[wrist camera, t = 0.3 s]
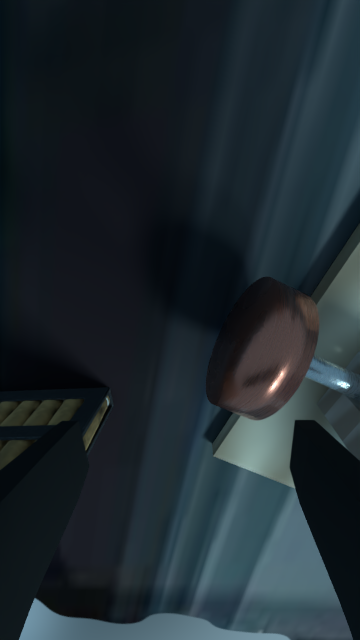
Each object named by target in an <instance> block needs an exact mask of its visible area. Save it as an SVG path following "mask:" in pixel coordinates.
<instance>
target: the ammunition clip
mask: <svg viewBox="0 0 360 640" xmlns="http://www.w3.org/2000/svg"><path fill="white" fill-rule="evenodd" d="M113 406H114V405H113V400H112V396H111V391H110V388H109V387H104V388H79V389H54V390H29V391H4V392H0V470H1V469H2V468H3V467H5V466H6V465H7V464H8V463H10V462H11V461H12V460H13V459H15V458H16V457H17V456H18V455H20V454H21V453H22V452H23V451H25V450H26V449H27V448H28V447H29V446H31V445H32V444H33V443H34V442H36V441H37V440H38V439H39V438H40V437H42V436H43V435H44V434H45V433H47V432H48V431H49V430H50V429H52V428H53V427H54V426H55V425H57V424H58V423H59V422H61V421H79V425H80V429H81V433H82V437H83V441H84V445H85V449H86V453H87V456H88V455H89V453H90V451H91V449H92V447H93V445H94V443H95V441H96V439H97V437H98V435H99V433H100V431H101V430H102V428H103V426H104V424H105V422H106V420H107V418H108V416H109V414H110V412H111V410H112V408H113Z"/></svg>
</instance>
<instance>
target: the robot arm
mask: <svg viewBox="0 0 360 640" xmlns="http://www.w3.org/2000/svg"><path fill="white" fill-rule="evenodd" d="M88 468H89V462H88V458H87V453H86V449H85V445H84V441H83V437H82V433H81V429H80V425H79V421H61V422H59V423H58V424H57V425H55V426H54V427H53V428H52V429H50V430H49V431H48V432H47V433H45V434H44V435H43V436H42V437H40V438H39V439H38V440H37V441H36V442H34V443H33V444H32V445H31V446H29V447H28V448H27V449H26V450H25V451H23V452H22V453H21V454H20V455H18V456H17V457H16V458H15V459H13V460H12V461H11V462H10V463H8V464H7V465H6V466H5V467H3V468H2V469H1V470H0V640H19V637H20V635H21V632H22V629H23V627H24V624H25V621H26V618H27V616H28V613H29V610H30V608H31V605H32V603H33V600H34V598H35V596H36V593H37V591H38V589H39V586H40V584H41V582H42V580H43V577H44V575H45V573H46V571H47V568H48V566H49V564H50V562H51V560H52V557H53V555H54V553H55V551H56V548H57V546H58V544H59V542H60V540H61V537H62V535H63V533H64V531H65V529H66V526H67V524H68V522H69V519H70V517H71V515H72V513H73V510H74V508H75V506H76V504H77V501H78V499H79V496H80V493H81V490H82V487H83V484H84V481H85V478H86V475H87V472H88ZM289 468H290V471H291V475H292V478H293V482H294V486H295V489H296V492H297V496H298V499H299V502H300V505H301V507H302V510H303V513H304V515H305V518H306V520H307V523H308V525H309V528H310V530H311V533H312V535H313V537H314V540H315V542H316V545H317V547H318V550H319V552H320V555H321V557H322V560H323V562H324V564H325V567H326V569H327V572H328V574H329V577H330V579H331V582H332V584H333V587H334V589H335V592H336V594H337V596H338V599H339V601H340V604H341V607H342V609H343V612H344V615H345V617H346V620H347V623H348V625H349V628H350V631H351V634H352V637H353V640H360V460H358V459H357V458H356V457H355V456H354V455H353V454H352V453H351V452H350V451H348V450H347V449H346V448H345V447H344V446H343V445H342V444H341V443H340V442H339V441H337V440H336V439H335V438H334V437H333V436H332V435H331V434H330V433H329V432H328V431H326V430H325V429H324V428H323V427H322V426H321V425H320V424H319V423H318V422H316V421H315V420H295V423H294V432H293V440H292V449H291V458H290V467H289Z"/></svg>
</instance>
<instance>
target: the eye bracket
mask: <svg viewBox="0 0 360 640" xmlns="http://www.w3.org/2000/svg"><path fill="white" fill-rule="evenodd" d="M311 298H312V300H313V301H314V302H315V304H316V307H317V310H318V314H319V335H318V341H317V346H316V349H315V353H314V354H315V355H317V356H319V357H321V358H323V359H326V360H328V361H330V362H332V363H334V364H337V365H339V366H341V367H343V368H345V369H348V370H350V371H352V372H354V373H356V374H359V375H360V223H359V225H358V226H357V228H356V229H355V231H354V232H353V234H352V235H351V237H350V238H349V240H348V241H347V243H346V244H345V246H344V247H343V249H342V250H341V252H340V253H339V255H338V256H337V258H336V259H335V261H334V262H333V264H332V265H331V267H330V268H329V270H328V271H327V273H326V274H325V276H324V277H323V279H322V280H321V282H320V283H319V285H318V286H317V288H316V289H315V291H314V292H313V294H312V295H311ZM295 420H315V421H316V422H318V423H319V424H320V425H321V426H322V427H323V428H324V429H325V430H326V431H328V432H329V433H330V434H331V435H332V436H333V437H334V438H335V439H336V440H337V441H339V442H340V443H341V444H342V445H343V446H344V447H345V448H346V449H347V450H348V451H350V452H351V453H352V454H353V455H354V456H355V457H356V458H357V459H358V460H360V401H358V400H356V399H354V398H352V397H349V396H347V395H345V394H343V393H340V392H338V391H336V390H334V389H331V388H329V387H327V386H325V385H322V384H320V383H318V382H316V381H313V380H311V379H309V378H307V377H304V379H303V381H302V383H301V384H300V386H299V388H298V389H297V390H296V392H295V393H294V395H293V396H292V397H291V398H290V400H289V401H288V402H287V403H286V404H285V405H284V406H283V407H282V408H281V409H280V410H279V411H277V412H276V413H275V414H273V415H272V416H270V417H268V418H266V419H263V420H257V421H255V420H250V419H248V418H245V417H243V416H240V415H238V414H236V413H233V414H232V415H231V417H230V418H229V420H228V421H227V423H226V424H225V426H224V427H223V429H222V430H221V432H220V433H219V435H218V436H217V438H216V439H215V441H214V442H213V444H212V447H213V456H214V457H217V458H219V459H222V460H224V461H227V462H230V463H232V464H235V465H237V466H240V467H242V468H245V469H247V470H250V471H252V472H255V473H257V474H260V475H262V476H265V477H267V478H270V479H272V480H275V481H278V482H280V483H283V484H285V485H288V486H290V487H293V488H295V486H294V482H293V478H292V475H291V471H290V468H289V467H290V458H291V449H292V440H293V432H294V423H295Z"/></svg>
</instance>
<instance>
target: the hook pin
mask: <svg viewBox="0 0 360 640" xmlns="http://www.w3.org/2000/svg"><path fill="white" fill-rule="evenodd" d="M318 335H319V314H318V310H317V307H316V304H315V302H314V301H313V300H312V298H311V297H309V296H308V295H306V294H304V293H302V292H300V291H298V290H296V289H294V288H292V287H289V286H287V285H285V284H283V283H281V282H279V281H277V280H275V279H273V278H271V277H263V278H260V279H258V280H257V281H256V282H254V283H253V284H252V285H251V286H250V287H249V288H248V289H247V290H246V291H245V292H244V293H243V294H242V296H241V297H240V298H239V300H238V301H237V303H236V304H235V305H234V307H233V309H232V310H231V312H230V314H229V315H228V317H227V319H226V321H225V323H224V325H223V327H222V329H221V331H220V333H219V336H218V338H217V340H216V343H215V346H214V348H213V352H212V355H211V358H210V362H209V366H208V371H207V377H206V394H207V397H208V400H209V401H210V402H211V403H212V404H214V405H216V406H219V407H221V408H224V409H226V410H228V411H231V412H233V413H236V414H238V415H240V416H243V417H245V418H248V419H250V420H255V421H257V420H263V419H266V418H268V417H270V416H272V415H273V414H275V413H276V412H277V411H279V410H280V409H281V408H282V407H283V406H284V405H285V404H286V403H287V402H288V401H289V400H290V398H291V397H292V396H293V395H294V393H295V392H296V390H297V389H298V388H299V386H300V384H301V383H302V381H303V379H304V377H307V378H309V379H311V380H313V381H316V382H318V383H320V384H322V385H325V386H327V387H329V388H331V389H334V390H336V391H338V392H340V393H343V394H345V395H347V396H349V397H352V398H354V399H356V400H358V401H360V375H359V374H356V373H354V372H352V371H350V370H348V369H345V368H343V367H341V366H339V365H337V364H334V363H332V362H330V361H328V360H326V359H323V358H321V357H319V356H317V355H315V354H314V353H315V349H316V346H317V341H318Z"/></svg>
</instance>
